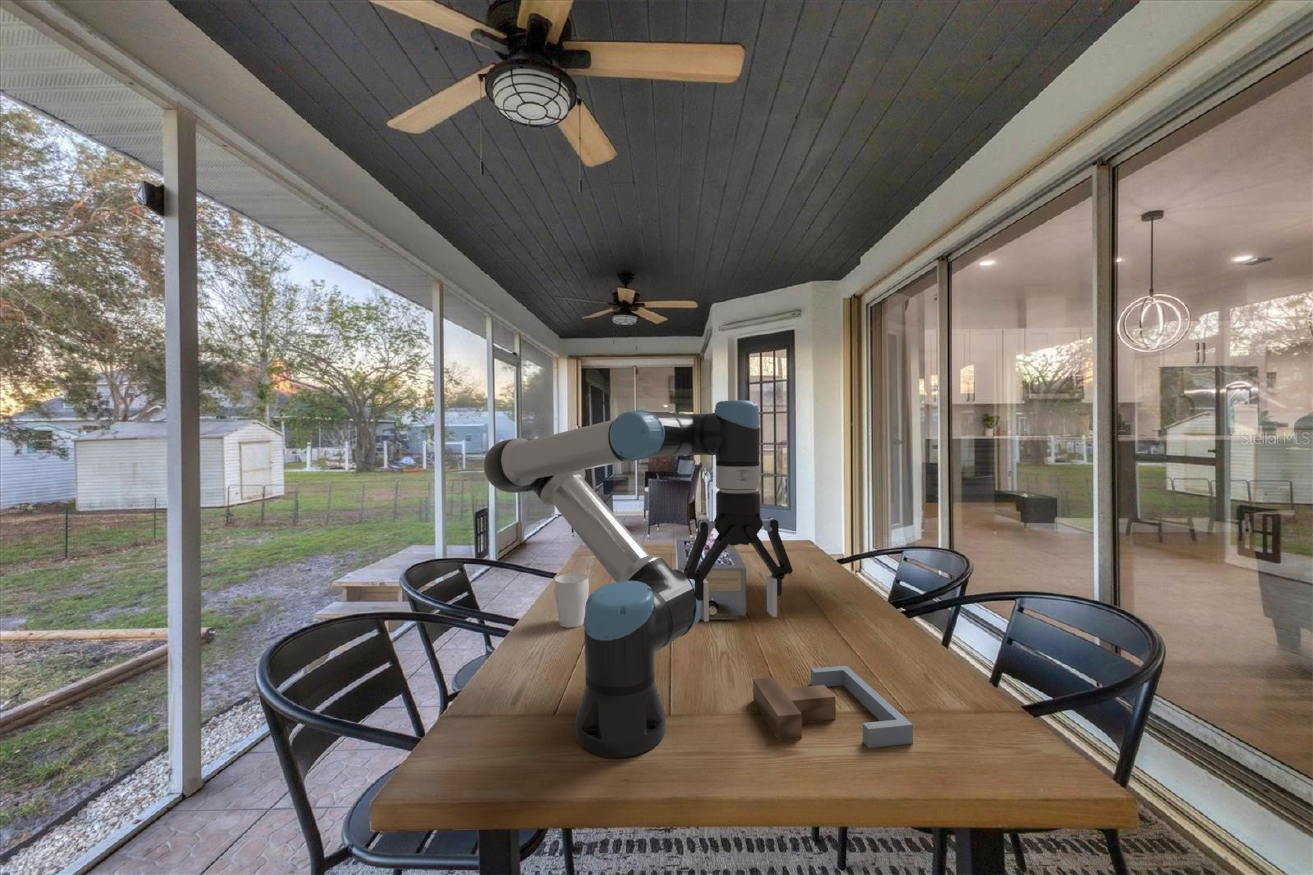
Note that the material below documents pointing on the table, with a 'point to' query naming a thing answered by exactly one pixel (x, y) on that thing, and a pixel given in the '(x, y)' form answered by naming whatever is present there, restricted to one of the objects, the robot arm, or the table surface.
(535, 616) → the table surface
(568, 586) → the cup
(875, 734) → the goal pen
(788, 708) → the walnut T
